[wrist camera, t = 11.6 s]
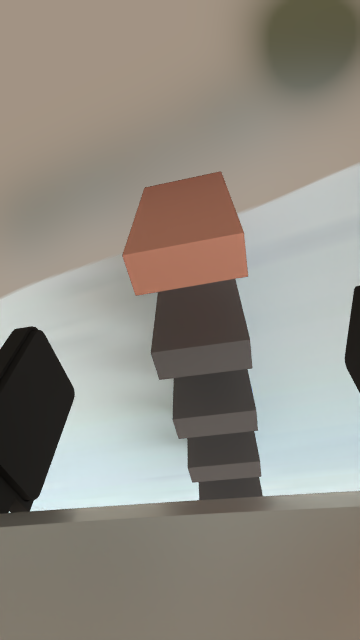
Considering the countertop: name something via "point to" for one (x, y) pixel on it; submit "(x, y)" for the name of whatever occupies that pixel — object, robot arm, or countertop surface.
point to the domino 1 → (185, 236)
